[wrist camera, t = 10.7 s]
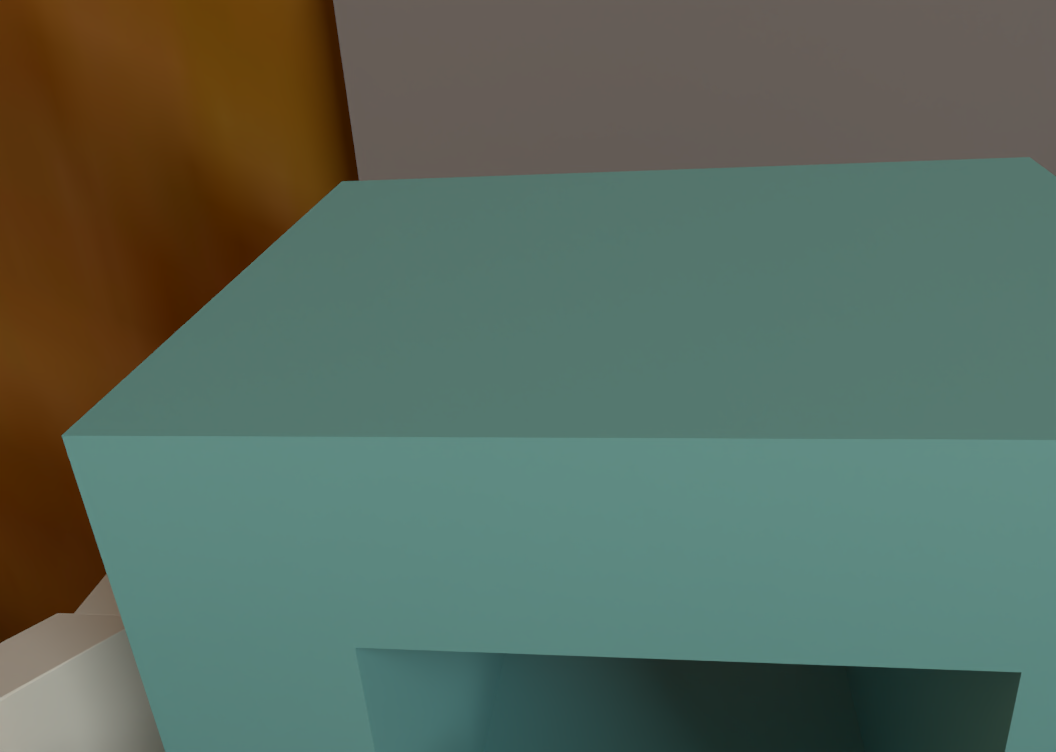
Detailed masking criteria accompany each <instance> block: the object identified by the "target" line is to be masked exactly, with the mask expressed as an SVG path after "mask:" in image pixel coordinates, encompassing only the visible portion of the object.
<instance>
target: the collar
mask: <svg viewBox="0 0 1056 752" xmlns="http://www.w3.org/2000/svg"><path fill="white" fill-rule="evenodd" d="M62 438H63V442H64V445H65V448H66V451H67V454H68V457H69V460H70V463H71V466H72V469H73V472H74V475H75V478H76V481H77V484H78V487H79V490H80V493H81V496H82V499H83V502H84V506H85V509H86V512H87V515H88V518H89V521H90V524H91V527H92V530H93V533H94V536H95V539H96V542H97V545H98V548H99V551H100V554H101V557H102V560H103V563H104V567H105V570H106V573H107V576H108V579H109V582H110V585H111V588H112V591H113V594H114V597H115V600H116V603H117V606H118V609H119V612H120V615H121V618H122V621H123V624H124V628H125V631H126V634H127V637H128V640H129V643H130V646H131V649H132V652H133V655H134V658H135V661H136V664H137V667H138V670H139V673H140V676H141V679H142V682H143V685H144V689H145V692H146V695H147V698H148V701H149V704H150V707H151V710H152V713H153V716H154V719H155V722H156V725H157V728H158V731H159V734H160V737H161V740H162V743H163V746H164V750H165V752H1056V176H1055V175H1053V174H1052V173H1051V172H1049V171H1048V170H1046V169H1045V168H1044V167H1042V166H1041V165H1040V164H1038V163H1037V162H1036V161H1034V160H1033V159H1032V158H1030V157H1018V158H989V159H961V160H933V161H904V162H876V163H848V164H820V165H791V166H763V167H735V168H706V169H678V170H650V171H621V172H593V173H565V174H537V175H508V176H480V177H452V178H423V179H395V180H367V181H342V182H341V183H340V184H338V185H337V186H336V187H335V188H334V189H333V190H332V191H331V192H330V193H329V194H327V195H326V196H325V197H324V198H323V199H322V200H321V201H320V202H319V203H317V204H316V205H315V206H314V207H313V208H312V209H311V210H310V211H309V212H308V213H306V214H305V215H304V216H303V217H302V218H301V219H300V220H299V221H298V222H297V223H295V224H294V225H293V226H292V227H291V228H290V229H289V230H288V231H287V232H286V233H284V234H283V235H282V236H281V237H280V238H279V239H278V240H277V241H276V242H274V243H273V244H272V245H271V246H270V247H269V248H268V249H267V250H266V251H265V252H263V253H262V254H261V255H260V256H259V257H258V258H257V259H256V260H255V261H254V262H252V263H251V264H250V265H249V266H248V267H247V268H246V269H245V270H244V271H243V272H241V273H240V274H239V275H238V276H237V277H236V278H235V279H234V280H233V281H231V282H230V283H229V284H228V285H227V286H226V287H225V288H224V289H223V290H222V291H220V292H219V293H218V294H217V295H216V296H215V297H214V298H213V299H212V300H211V301H209V302H208V303H207V304H206V305H205V306H204V307H203V308H202V309H201V310H200V311H198V312H197V313H196V314H195V315H194V316H193V317H192V318H191V319H190V320H188V321H187V322H186V323H185V324H184V325H183V326H182V327H181V328H180V329H179V330H177V331H176V332H175V333H174V334H173V335H172V336H171V337H170V338H169V339H168V340H166V341H165V342H164V343H163V344H162V345H161V346H160V347H159V348H158V349H156V350H155V351H154V352H153V353H152V354H151V355H150V356H149V357H148V358H147V359H145V360H144V361H143V362H142V363H141V364H140V365H139V366H138V367H137V368H136V369H134V370H133V371H132V372H131V373H130V374H129V375H128V376H127V377H126V378H125V379H123V380H122V381H121V382H120V383H119V384H118V385H117V386H116V387H115V388H113V389H112V390H111V391H110V392H109V393H108V394H107V395H106V396H105V397H104V398H102V399H101V400H100V401H99V402H98V403H97V404H96V405H95V406H94V407H93V408H91V409H90V410H89V411H88V412H87V413H86V414H85V415H84V416H83V417H82V418H80V419H79V420H78V421H77V422H76V423H75V424H74V425H73V426H72V427H70V428H69V429H68V430H67V431H66V432H65V433H64V434H63V435H62Z"/></svg>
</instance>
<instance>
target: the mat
mask: <svg viewBox="0 0 1056 752" xmlns="http://www.w3.org/2000/svg"><path fill="white" fill-rule="evenodd" d="M333 3H334V10H335V17H336V24H337V31H338V38H339V45H340V52H341V59H342V66H343V72H344V79H345V86H346V93H347V100H348V107H349V114H350V121H351V128H352V135H353V142H354V149H355V156H356V163H357V170H358V177H359V181H367V180H395V179H423V178H452V177H480V176H508V175H537V174H565V173H593V172H621V171H650V170H678V169H706V168H735V167H763V166H791V165H820V164H848V163H876V162H904V161H933V160H961V159H989V158H1018V157H1030V158H1032V159H1033V160H1034V161H1036V162H1037V163H1038V164H1040V165H1041V166H1042V167H1044V168H1045V169H1046V170H1048V171H1049V172H1051V173H1052V174H1053V175H1055V176H1056V0H333Z"/></svg>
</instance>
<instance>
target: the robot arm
mask: <svg viewBox="0 0 1056 752" xmlns="http://www.w3.org/2000/svg"><path fill="white" fill-rule="evenodd" d="M0 752H165V750H164V746H163V743H162V740H161V737H160V734H159V731H158V728H157V725H156V722H155V719H154V716H153V713H152V710H151V707H150V704H149V701H148V698H147V695H146V692H145V689H144V685H143V682H142V679H141V676H140V673H139V670H138V667H137V664H136V661H135V658H134V655H133V652H132V649H131V646H130V643H129V640H128V637H127V634H126V631H125V628H124V624H123V621H122V618H121V615H120V612H119V609H118V606H117V603H116V600H115V597H114V594H113V591H112V588H111V585H110V582H109V579H108V576H107V574H106V575H105V576H104V578H103V579H102V580H101V581H100V582H99V584H98V585H97V586H96V587H95V588H94V590H93V591H92V592H91V593H90V595H89V596H88V597H87V598H86V599H85V601H84V602H83V603H82V604H81V605H80V607H79V608H78V609H77V610H76V611H75V613H74V614H68V613H57V614H55V615H53V616H51V617H49V618H48V619H46V620H44V621H42V622H40V623H38V624H36V625H34V626H32V627H30V628H28V629H26V630H24V631H23V632H21V633H19V634H17V635H15V636H13V637H11V638H9V639H7V640H5V641H3V642H1V643H0Z"/></svg>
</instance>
